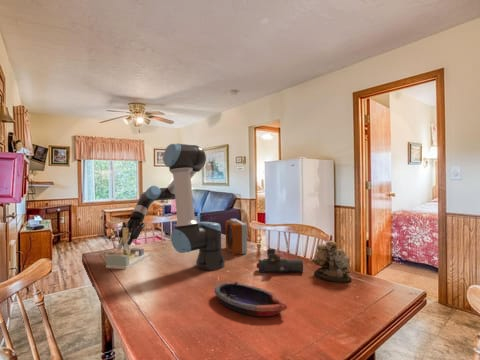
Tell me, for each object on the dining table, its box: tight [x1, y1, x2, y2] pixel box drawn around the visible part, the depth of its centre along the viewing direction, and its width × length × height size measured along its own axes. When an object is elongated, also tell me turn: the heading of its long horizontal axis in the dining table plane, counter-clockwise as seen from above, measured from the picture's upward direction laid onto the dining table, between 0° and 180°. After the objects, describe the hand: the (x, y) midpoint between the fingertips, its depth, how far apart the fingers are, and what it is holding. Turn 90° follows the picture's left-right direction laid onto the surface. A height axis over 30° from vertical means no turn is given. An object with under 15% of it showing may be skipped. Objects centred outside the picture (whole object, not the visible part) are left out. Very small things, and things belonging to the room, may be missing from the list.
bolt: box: [122, 227, 137, 260], centre depth 151 cm, size 12×3×18 cm, turn 168°
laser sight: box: [256, 248, 304, 274], centre depth 135 cm, size 10×22×10 cm, turn 89°
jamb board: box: [105, 247, 150, 270], centre depth 153 cm, size 22×12×6 cm, turn 168°
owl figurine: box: [311, 240, 352, 284], centre depth 127 cm, size 18×12×17 cm, turn 53°
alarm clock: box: [225, 218, 248, 256], centre depth 172 cm, size 18×9×21 cm, turn 17°
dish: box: [214, 281, 288, 317], centre depth 100 cm, size 16×31×5 cm, turn 50°
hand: (121, 249), depth 146 cm, fingers closed on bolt, 3 cm apart
